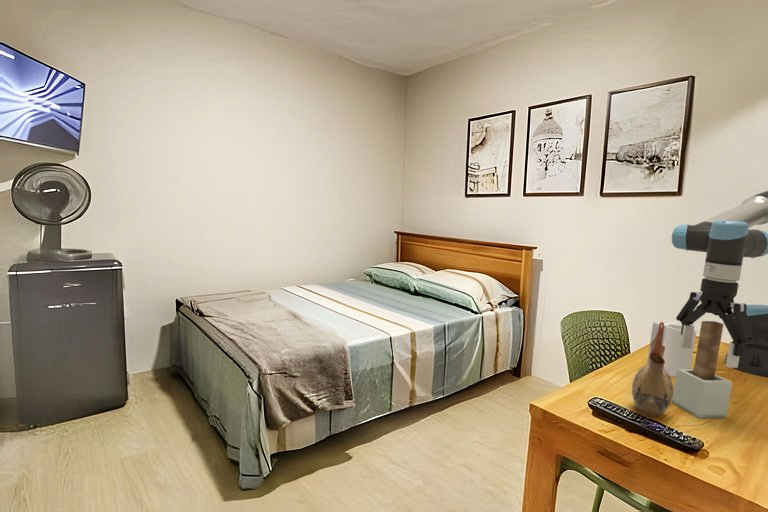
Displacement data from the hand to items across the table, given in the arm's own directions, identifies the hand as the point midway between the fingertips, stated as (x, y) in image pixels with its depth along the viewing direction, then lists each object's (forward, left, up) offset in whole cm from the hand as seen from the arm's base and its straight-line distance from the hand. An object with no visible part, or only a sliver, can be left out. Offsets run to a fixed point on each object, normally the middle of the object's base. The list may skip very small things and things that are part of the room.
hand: (707, 357), depth 110 cm
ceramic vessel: (+16, +1, -15) cm, 22 cm away
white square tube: (0, 0, -15) cm, 15 cm away
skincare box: (-18, -32, -15) cm, 40 cm away
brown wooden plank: (0, 0, -14) cm, 14 cm away
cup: (-15, -24, -15) cm, 32 cm away
